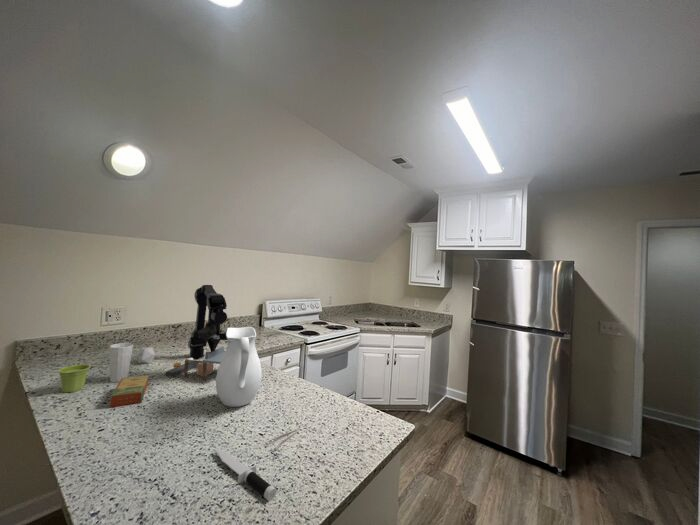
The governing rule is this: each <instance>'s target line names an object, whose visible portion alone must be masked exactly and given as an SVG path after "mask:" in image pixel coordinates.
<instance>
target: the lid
mask: <svg viewBox="0 0 700 525" xmlns="http://www.w3.org/2000/svg"><path fill="white" fill-rule="evenodd" d="M208 352H209V353H206V352H205V354H206V359H205V358H204V359H202V360H201V361H202V362H208V363H214V364H218V365H220V363H221V361H222V358H223V356H224V354H225V352H226V350H225V347H223V346H222V347H219V348H216V349H215V350H214V351H211V350H210V351H208Z"/></svg>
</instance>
